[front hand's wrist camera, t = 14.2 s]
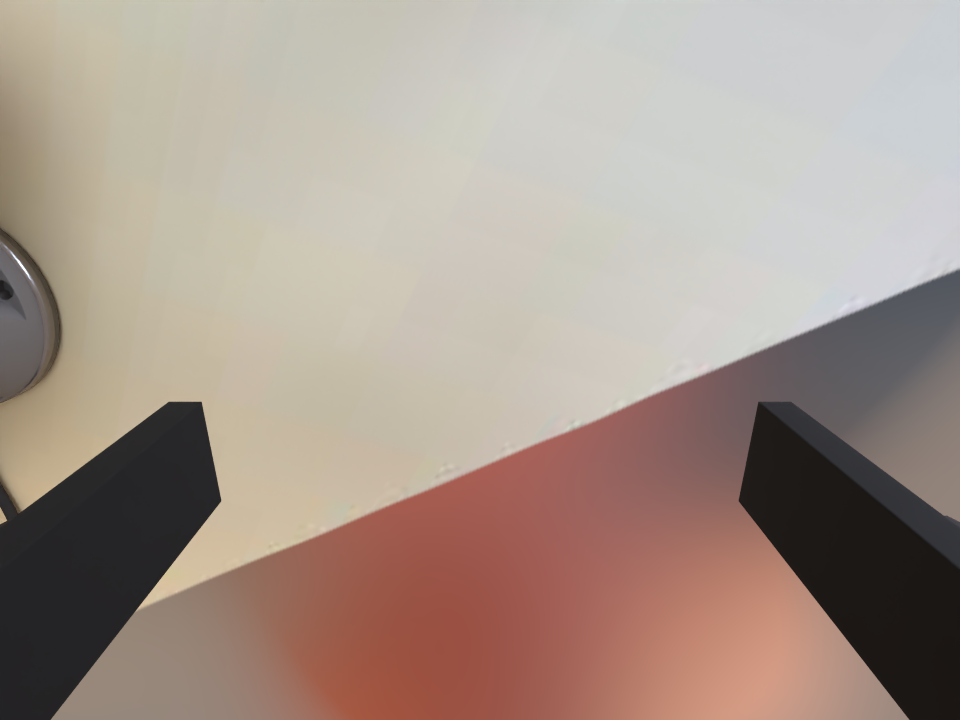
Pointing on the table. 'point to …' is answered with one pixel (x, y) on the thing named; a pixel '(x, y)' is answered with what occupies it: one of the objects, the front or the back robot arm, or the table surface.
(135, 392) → the table surface
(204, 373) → the table surface
